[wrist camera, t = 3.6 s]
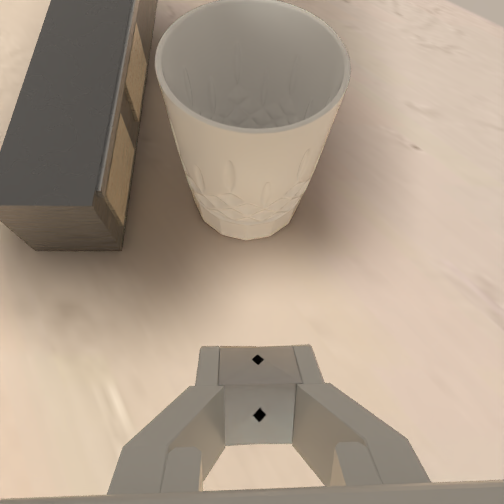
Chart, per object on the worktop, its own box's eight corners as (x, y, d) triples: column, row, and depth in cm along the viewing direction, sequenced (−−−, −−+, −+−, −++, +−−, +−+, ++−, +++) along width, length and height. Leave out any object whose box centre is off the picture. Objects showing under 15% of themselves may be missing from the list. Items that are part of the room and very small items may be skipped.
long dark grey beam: (159, -1, 32) (147, -71, 27) (125, 250, 22) (95, 205, 17) (98, -3, 32) (75, -74, 27) (35, 250, 22) (-18, 205, 17)
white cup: (310, 252, 22) (361, 137, 13) (179, 248, 22) (141, 127, 13) (304, 149, 26) (342, 1, 17) (191, 145, 25) (166, -9, 16)
